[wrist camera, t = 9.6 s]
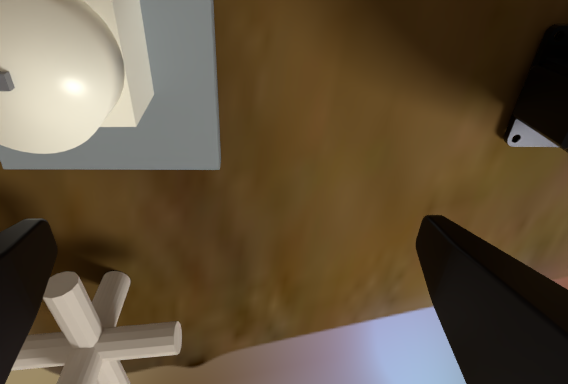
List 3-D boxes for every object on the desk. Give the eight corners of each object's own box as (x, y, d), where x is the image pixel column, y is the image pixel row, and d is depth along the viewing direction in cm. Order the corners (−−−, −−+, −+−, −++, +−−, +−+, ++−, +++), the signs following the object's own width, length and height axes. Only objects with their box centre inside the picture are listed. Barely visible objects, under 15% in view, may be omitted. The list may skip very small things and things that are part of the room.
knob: (135, -27, 15) (81, -10, 10) (154, 94, 18) (119, 156, 13) (2, -32, 15) (-127, -16, 10) (42, 94, 18) (-41, 159, 12)
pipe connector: (10, 230, 23) (-125, 392, 15) (174, 216, 24) (134, 367, 15) (68, 332, 29) (-6, 493, 20) (201, 320, 29) (182, 472, 21)
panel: (206, -143, 14) (189, -174, 11) (220, 159, 22) (214, 207, 18) (-125, -168, 13) (-278, -213, 9) (6, 157, 21) (-52, 209, 17)
